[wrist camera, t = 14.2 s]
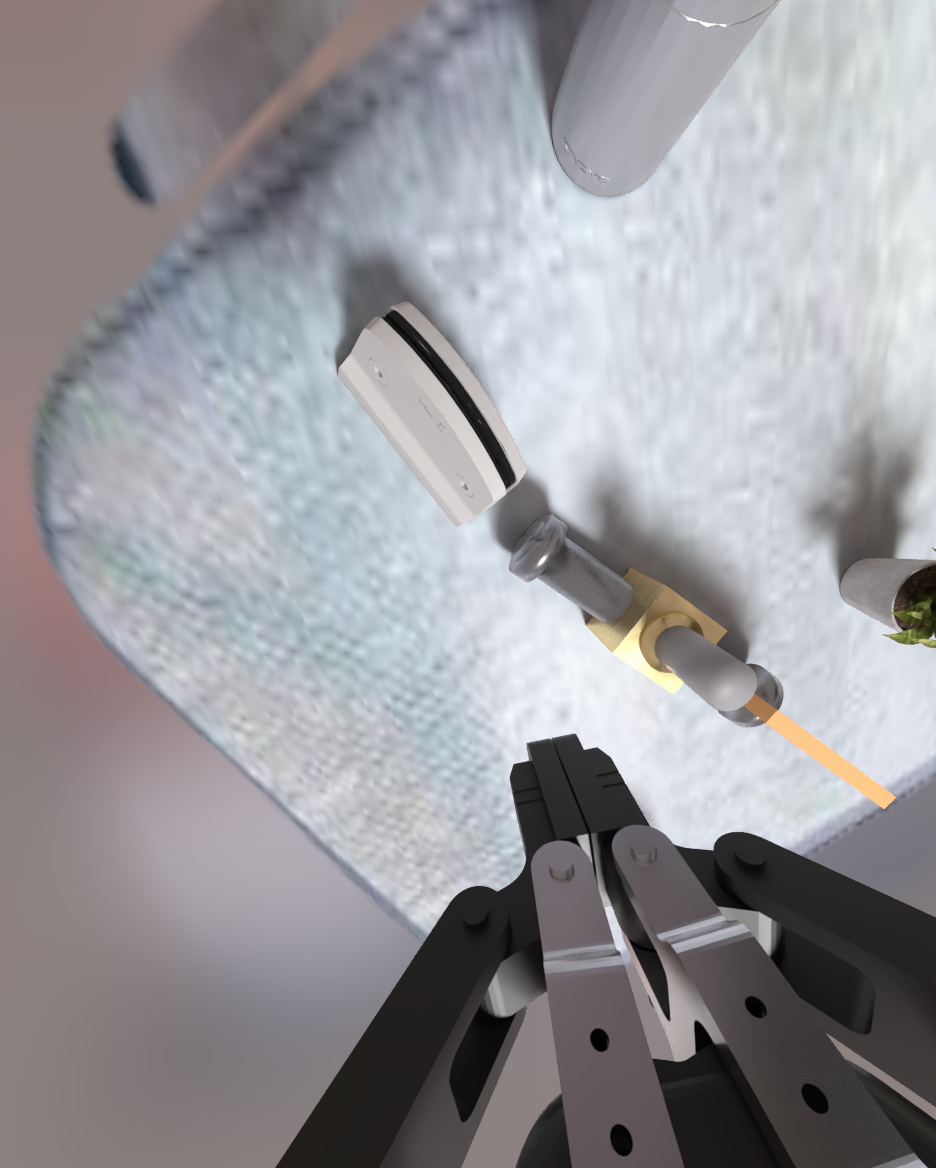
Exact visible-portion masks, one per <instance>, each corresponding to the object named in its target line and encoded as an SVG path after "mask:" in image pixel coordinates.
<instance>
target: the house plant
mask: <svg viewBox="0 0 936 1168" xmlns="http://www.w3.org/2000/svg"><path fill="white" fill-rule="evenodd" d="M933 549H934V548H933ZM934 550H935V551H936V549H934ZM840 593H841V596H842V598H843V600H844V601H845V602H846V603H847V604H848V605H850V606H852V607H854V608H856V609H857V610H859V611H861V612H863V613H865V614H867V615H869V616H870V617H872V618H874V619H876V620H878V621H880V622H881V623H883V624H885V625H887V626H889V627H891V628H893V629H894V630H896V631H898V632H900V633H897V634H891V635H885V636H887V637H889V638H891V639H893V640H895V641H897V642H898V643H902V644H911V645H913V644H918V643H922V644H924V645H925V646H926V647H930V648H936V641H935V640H930V639H929V638H930V637H931V636H933V635H935V637H936V560H918V559H892V558H864V559H862V560H859V561H857V562H856V563H854V564H853V565H851V566H850V567H849V568H848V569H847V571H846V572H845V574H844V575H843V578H842V580H841V584H840ZM882 635H883V634H882Z"/></svg>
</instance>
